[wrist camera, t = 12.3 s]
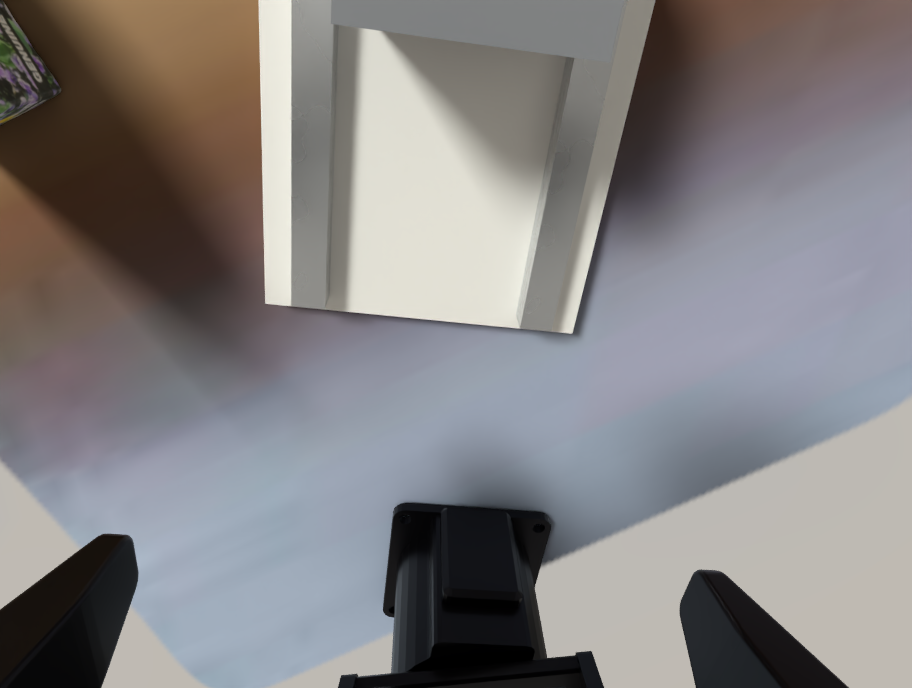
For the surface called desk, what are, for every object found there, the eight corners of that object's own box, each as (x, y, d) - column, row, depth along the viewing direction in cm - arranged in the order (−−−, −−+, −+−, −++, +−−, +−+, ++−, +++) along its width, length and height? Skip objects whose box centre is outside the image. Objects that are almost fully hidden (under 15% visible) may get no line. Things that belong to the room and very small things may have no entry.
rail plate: (566, 320, 21) (593, 382, 18) (272, 290, 20) (239, 350, 17) (720, -319, 14) (820, -429, 10) (261, -415, 13) (197, -572, 9)
